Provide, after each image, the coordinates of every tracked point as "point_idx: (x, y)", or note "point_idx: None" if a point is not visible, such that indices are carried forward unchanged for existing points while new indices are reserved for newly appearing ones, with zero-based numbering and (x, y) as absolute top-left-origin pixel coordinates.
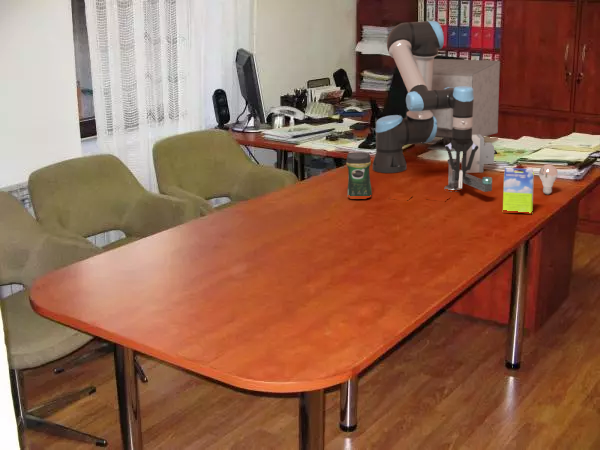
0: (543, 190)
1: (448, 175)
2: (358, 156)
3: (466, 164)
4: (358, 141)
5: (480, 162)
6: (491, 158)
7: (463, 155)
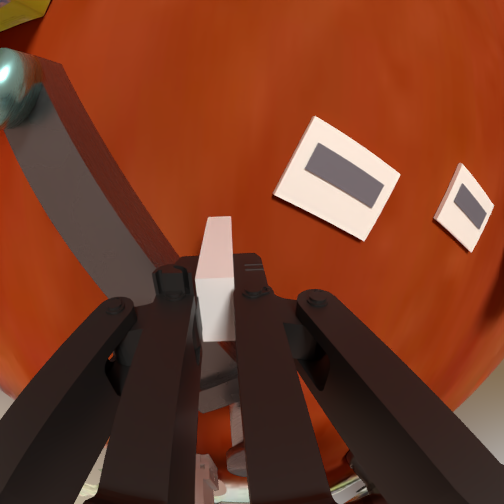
0: None
1: None
2: None
3: (202, 473)
4: (363, 490)
5: None
6: None
7: (162, 491)
